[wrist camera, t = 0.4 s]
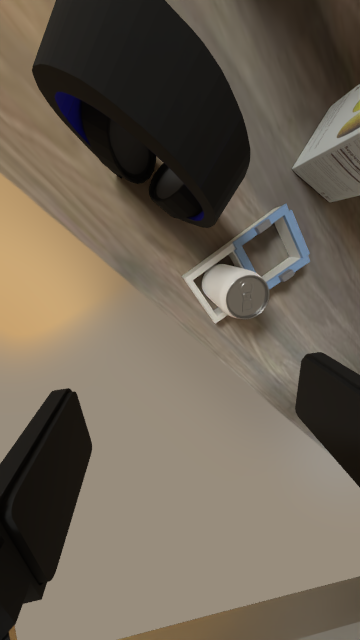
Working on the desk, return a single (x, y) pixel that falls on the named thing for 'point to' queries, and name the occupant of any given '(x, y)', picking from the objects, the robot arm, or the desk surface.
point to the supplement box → (334, 151)
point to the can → (236, 290)
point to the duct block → (234, 249)
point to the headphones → (146, 101)
